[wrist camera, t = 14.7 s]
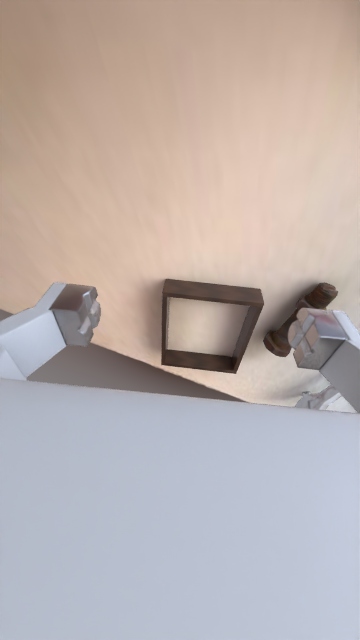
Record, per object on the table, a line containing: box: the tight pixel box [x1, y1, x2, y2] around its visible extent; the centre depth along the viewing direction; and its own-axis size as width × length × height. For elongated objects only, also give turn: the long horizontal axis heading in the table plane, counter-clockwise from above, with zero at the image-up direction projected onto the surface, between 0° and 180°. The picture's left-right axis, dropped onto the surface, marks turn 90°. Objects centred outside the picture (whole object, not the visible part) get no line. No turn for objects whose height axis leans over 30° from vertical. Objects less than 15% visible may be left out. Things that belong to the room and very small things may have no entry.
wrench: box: [295, 384, 342, 410], centre depth 53 cm, size 8×2×30 cm
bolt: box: [263, 283, 338, 357], centre depth 42 cm, size 6×5×15 cm
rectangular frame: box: [161, 279, 264, 374], centre depth 46 cm, size 17×20×4 cm
